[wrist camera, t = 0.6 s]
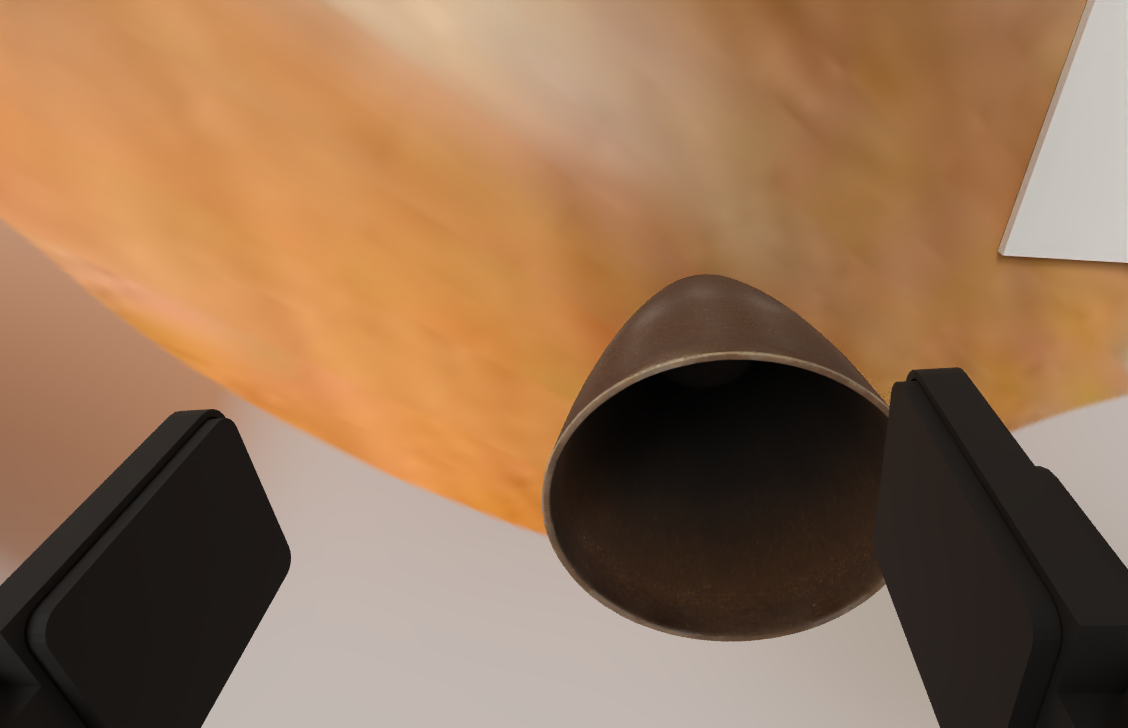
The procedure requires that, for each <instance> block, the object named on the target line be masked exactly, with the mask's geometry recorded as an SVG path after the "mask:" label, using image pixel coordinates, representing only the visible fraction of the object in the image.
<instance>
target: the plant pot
mask: <svg viewBox="0 0 1128 728" xmlns="http://www.w3.org/2000/svg"><path fill="white" fill-rule="evenodd" d="M889 408H890V407H889V406H888V405H887V404H886V403H885V401H884V400H883V399H882V398H881V397H880V396H879V394H878V393H877V392H876V391H875V390H874V389H873V387H872V386H871V385H870V384H869V383H868V382H867V380H866V379H865V378H864V377H863V376H862V375H861V373H860V372H859V371H858V370H857V369H856V368H855V367H854V366H853V365H852V363H851V362H850V361H849V360H848V359H847V358H846V357H845V356H844V355H843V354H842V353H841V352H840V351H839V350H838V349H837V348H836V347H835V346H834V345H833V344H832V343H831V342H829V341H828V340H827V339H826V338H825V337H824V336H823V335H822V334H821V333H819V332H818V331H817V330H816V329H815V328H814V327H813V326H811V325H810V324H809V323H808V322H806V321H805V320H804V319H803V318H801V317H800V316H799V315H798V314H796V313H795V312H793V311H792V310H791V309H789V308H788V307H787V306H785V305H783V304H782V303H780V302H779V301H777V300H776V299H774V298H773V297H771V296H769V295H767V294H765V293H764V292H762V291H760V290H758V289H756V288H754V287H752V286H749V285H747V284H745V283H742V282H740V281H737V280H734V279H731V278H728V277H723V276H719V275H696V276H691V277H687V278H684V279H681V280H678V281H676V282H674V283H672V284H670V285H669V286H667V287H665V288H664V289H662V290H661V291H660V292H658V293H657V294H656V295H654V296H653V297H652V298H651V299H649V300H648V301H647V302H646V303H645V304H644V305H643V306H642V307H641V308H640V309H639V310H638V311H637V312H636V313H635V314H634V315H633V316H632V317H631V318H630V319H629V320H628V321H627V322H626V323H625V325H624V326H623V327H622V328H621V330H620V331H619V332H618V333H617V334H616V336H615V337H614V339H613V340H612V341H611V343H610V344H609V345H608V347H607V348H606V350H605V351H604V353H603V354H602V356H601V357H600V359H599V360H598V362H597V363H596V365H595V367H594V368H593V370H592V372H591V373H590V375H589V377H588V378H587V380H586V382H585V383H584V385H583V387H582V389H581V391H580V393H579V395H578V396H577V398H576V400H575V402H574V404H573V406H572V408H571V411H570V413H569V415H568V417H567V419H566V421H565V423H564V426H563V428H562V430H561V433H560V435H559V437H558V440H557V442H556V444H555V447H554V449H553V451H552V454H551V457H550V459H549V462H548V464H547V468H546V472H545V475H544V482H543V490H542V511H543V518H544V524H545V528H546V531H547V534H548V537H549V540H550V542H551V544H552V547H553V549H554V551H555V553H556V554H557V556H558V558H559V560H560V561H561V562H562V564H563V566H564V567H565V568H566V570H567V571H568V572H569V574H570V575H571V576H572V577H573V578H574V580H575V581H576V582H577V583H578V584H579V585H580V586H581V587H582V588H583V589H584V590H585V591H586V592H588V593H589V594H590V595H591V596H592V597H593V598H595V599H596V600H598V601H599V602H600V603H602V604H603V605H604V606H606V607H608V608H609V609H611V610H613V611H614V612H616V613H618V614H619V615H621V616H623V617H625V618H627V619H629V620H631V621H633V622H635V623H638V624H641V625H643V626H646V627H649V628H652V629H655V630H657V631H661V632H665V633H668V634H672V635H676V636H681V637H687V638H692V639H700V640H711V641H751V640H761V639H769V638H775V637H780V636H785V635H790V634H794V633H798V632H801V631H805V630H808V629H811V628H814V627H817V626H820V625H822V624H824V623H827V622H829V621H831V620H833V619H836V618H838V617H840V616H842V615H844V614H845V613H847V612H849V611H850V610H852V609H854V608H855V607H857V606H859V605H860V604H862V603H863V602H865V601H866V600H867V599H869V598H870V597H871V596H872V595H874V594H875V593H876V592H878V591H879V590H880V589H881V588H882V587H883V586H884V585H885V584H886V583H885V580H884V577H883V575H882V572H881V569H880V567H879V564H878V561H877V558H876V553H875V546H874V531H875V522H876V514H877V506H878V498H879V490H880V482H881V473H882V465H883V457H884V449H885V441H886V433H887V424H888V416H889Z"/></svg>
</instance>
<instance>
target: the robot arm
mask: <svg viewBox="0 0 1128 728" xmlns="http://www.w3.org/2000/svg"><path fill="white" fill-rule="evenodd" d="M874 546H875V553H876V558H877V561H878V564H879V567H880V569H881V572H882V575H883V577H884V580H885V583H886V585H887V588H888V591H889V593H890V595H891V599H892V601H893V604H894V607H895V609H896V612H897V614H898V617H899V620H900V622H901V625H902V628H903V630H904V633H905V636H906V638H907V641H908V644H909V646H910V649H911V651H912V654H913V657H914V659H915V662H916V665H917V667H918V670H919V673H920V675H921V678H922V681H923V683H924V686H925V689H926V691H927V694H928V697H929V699H930V702H931V704H932V707H933V710H934V713H935V715H936V718H937V720H938V723H939V726H940V728H1128V569H1127V568H1126V566H1125V565H1124V564H1123V563H1122V562H1121V560H1120V559H1119V557H1118V556H1117V555H1116V553H1115V552H1114V551H1113V550H1112V548H1111V547H1110V546H1109V544H1108V543H1107V542H1106V540H1105V539H1104V538H1103V537H1102V535H1101V534H1100V533H1099V532H1098V530H1097V529H1096V527H1095V526H1094V525H1093V524H1092V522H1091V521H1090V520H1089V518H1088V517H1087V516H1086V514H1085V513H1084V512H1083V511H1082V509H1081V508H1080V507H1079V505H1078V504H1077V503H1076V501H1075V500H1074V499H1073V498H1072V496H1071V495H1070V494H1069V492H1068V491H1067V490H1066V489H1065V487H1064V486H1063V485H1062V483H1061V482H1060V481H1059V479H1058V478H1057V477H1056V476H1055V475H1054V474H1053V473H1052V472H1050V470H1048V469H1046V468H1043V467H1041V466H1034V464H1033V463H1032V461H1031V460H1030V459H1029V457H1028V456H1027V455H1026V453H1025V452H1024V451H1023V449H1022V448H1021V447H1020V445H1019V444H1018V443H1017V441H1016V440H1015V439H1014V437H1013V436H1012V435H1011V433H1010V432H1009V431H1008V429H1007V428H1006V427H1005V425H1004V424H1003V422H1002V421H1001V420H1000V418H999V417H998V416H997V414H996V413H995V412H994V410H993V409H992V408H991V406H990V405H989V404H988V402H987V401H986V400H985V398H984V397H983V396H982V394H981V393H980V392H979V390H978V389H977V388H976V386H975V385H974V384H973V382H972V381H971V380H970V378H969V377H968V376H967V374H966V373H965V372H964V371H963V370H962V369H961V368H957V367H956V368H939V369H921V370H912V371H911V372H909V374H908V376H907V380H906V381H904V382H896V383H894V385H893V387H892V392H891V400H890V408H889V416H888V424H887V433H886V441H885V449H884V457H883V465H882V473H881V482H880V490H879V498H878V506H877V514H876V522H875V531H874ZM290 563H291V553H290V549H289V546H288V544H287V541H286V539H285V537H284V534H283V532H282V530H281V528H280V525H279V523H278V521H277V518H276V516H275V514H274V511H273V509H272V507H271V505H270V503H269V500H268V498H267V495H266V493H265V491H264V489H263V486H262V484H261V482H260V479H259V477H258V475H257V473H256V470H255V468H254V466H253V463H252V461H251V459H250V457H249V454H248V452H247V450H246V447H245V445H244V443H243V440H242V438H241V436H240V434H239V431H238V429H237V427H236V425H235V424H234V422H233V421H232V420H230V419H228V418H225V416H224V415H223V414H222V413H221V412H220V411H218V410H214V409H208V410H191V411H178V412H175V413H173V414H172V415H170V416H169V417H168V418H167V419H166V420H165V421H164V422H163V423H162V424H161V425H160V426H159V427H158V428H157V429H156V430H155V431H154V432H153V433H152V434H151V435H150V436H149V437H148V438H147V439H146V440H145V441H144V442H143V443H142V444H141V445H140V446H139V447H138V448H137V449H136V450H135V451H134V452H133V453H132V454H131V455H130V456H129V457H128V458H127V459H126V460H125V461H124V462H123V463H122V464H121V465H120V466H119V467H118V468H117V469H116V470H115V471H114V472H113V473H112V474H111V475H110V476H109V477H108V478H107V480H105V481H104V483H102V484H101V485H100V486H99V487H98V488H97V489H96V490H95V491H94V492H93V493H92V494H91V495H90V496H89V497H88V498H87V499H86V500H85V501H84V502H83V503H82V504H81V505H80V506H79V507H78V508H77V509H76V510H75V511H74V512H73V513H72V514H71V515H70V516H69V517H68V518H67V519H66V520H65V522H63V523H62V524H61V525H60V527H58V528H57V529H56V530H55V531H54V532H53V533H52V534H51V535H50V536H49V537H48V538H47V539H46V540H45V541H44V542H43V544H42V545H41V546H40V547H39V548H38V549H36V551H34V552H33V553H32V555H31V556H30V557H29V558H28V559H26V560H25V561H24V562H23V564H22V565H21V566H20V567H19V568H18V569H17V570H16V571H15V572H14V573H13V574H12V575H11V576H10V577H9V578H8V579H7V580H6V581H5V582H4V583H3V584H2V585H1V586H0V728H201V726H202V725H203V723H204V721H205V719H206V717H207V716H208V714H209V712H210V710H211V708H212V707H213V705H214V703H215V701H216V700H217V698H218V696H219V694H220V693H221V691H222V689H223V687H224V685H225V684H226V682H227V680H228V678H229V676H230V675H231V673H232V671H233V669H234V668H235V666H236V664H237V662H238V660H239V659H240V657H241V655H242V653H243V652H244V650H245V648H246V646H247V645H248V643H249V641H250V639H251V637H252V636H253V634H254V632H255V630H256V629H257V627H258V625H259V623H260V621H261V620H262V618H263V616H264V614H265V612H266V611H267V609H268V607H269V605H270V604H271V602H272V600H273V598H274V597H275V595H276V593H277V591H278V589H279V588H280V586H281V584H282V582H283V581H284V579H285V577H286V575H287V573H288V571H289V568H290Z"/></svg>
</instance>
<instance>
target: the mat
mask: <svg viewBox="0 0 1128 728" xmlns="http://www.w3.org/2000/svg"><path fill="white" fill-rule="evenodd" d="M998 252H999V253H1000V254H1002V255H1004V256H1021V257H1038V258H1055V259H1072V260H1089V261H1106V262H1123V263H1128V0H1087V3H1086V6H1085V9H1084V12H1083V14H1082V17H1081V20H1080V23H1079V25H1078V28H1077V31H1076V34H1075V37H1074V39H1073V42H1072V45H1071V48H1070V51H1069V53H1068V56H1067V59H1066V62H1065V65H1064V67H1063V70H1062V73H1061V76H1060V79H1059V81H1058V84H1057V87H1056V90H1055V93H1054V95H1053V98H1052V101H1051V104H1050V106H1049V109H1048V112H1047V115H1046V118H1045V120H1044V123H1043V126H1042V129H1041V132H1040V134H1039V137H1038V140H1037V143H1036V146H1035V148H1034V151H1033V154H1032V157H1031V160H1030V162H1029V165H1028V168H1027V171H1026V174H1025V176H1024V179H1023V182H1022V185H1021V187H1020V190H1019V193H1018V196H1017V199H1016V201H1015V204H1014V207H1013V210H1012V213H1011V215H1010V218H1009V221H1008V224H1007V227H1006V229H1005V232H1004V235H1003V238H1002V241H1001V243H1000V246H999V249H998Z"/></svg>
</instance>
